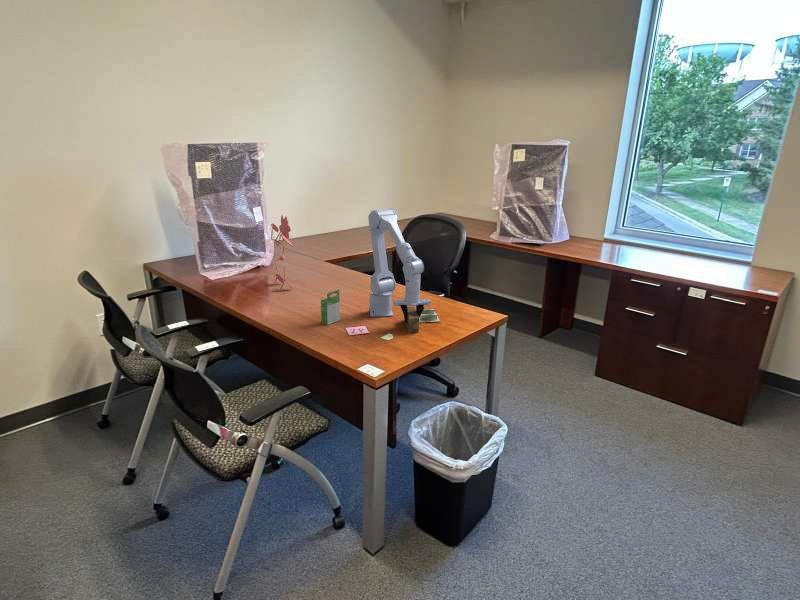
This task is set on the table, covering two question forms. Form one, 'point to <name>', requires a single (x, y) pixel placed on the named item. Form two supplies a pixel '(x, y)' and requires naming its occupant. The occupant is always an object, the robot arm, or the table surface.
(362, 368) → the table surface
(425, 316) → the rail stand
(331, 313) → the ink box
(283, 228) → the figurine
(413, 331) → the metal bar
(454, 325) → the table surface
